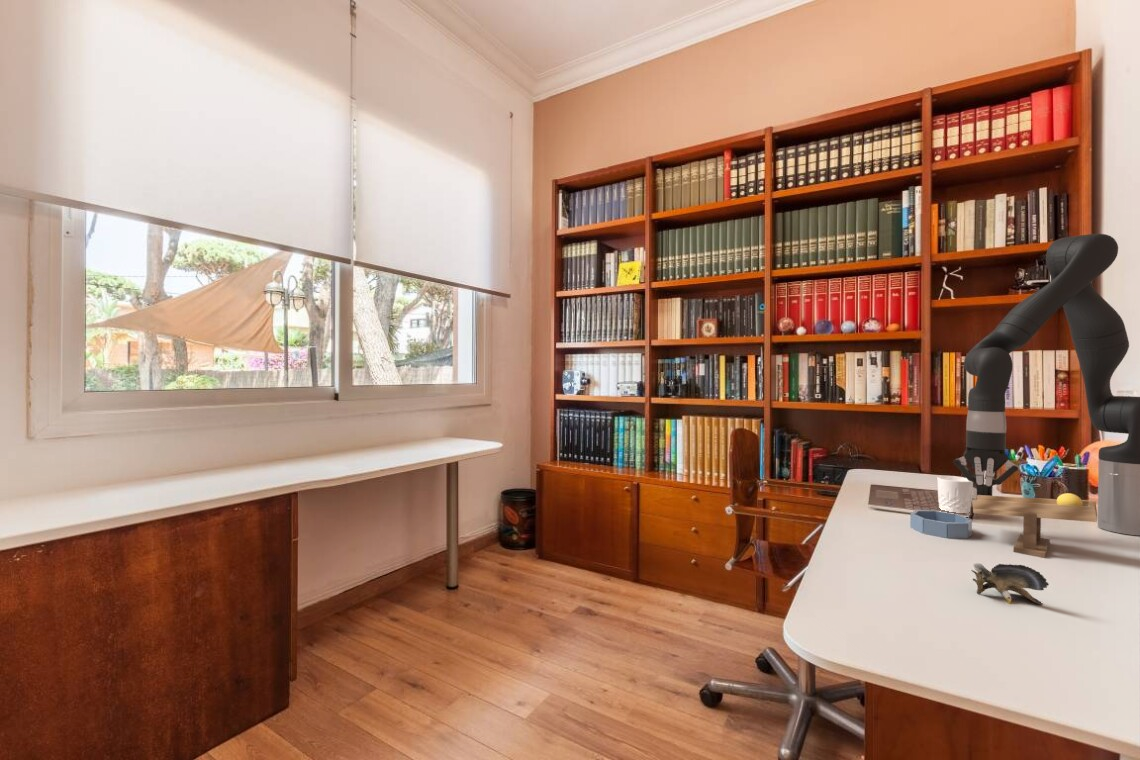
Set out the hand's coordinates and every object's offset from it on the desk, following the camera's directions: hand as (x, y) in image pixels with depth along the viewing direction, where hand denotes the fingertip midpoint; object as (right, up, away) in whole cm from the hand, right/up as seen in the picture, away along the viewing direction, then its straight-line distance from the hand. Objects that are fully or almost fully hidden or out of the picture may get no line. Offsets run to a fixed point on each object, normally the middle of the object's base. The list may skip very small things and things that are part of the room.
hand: (984, 500), depth 124 cm
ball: (+6, +3, -15) cm, 17 cm away
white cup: (+5, -8, +16) cm, 18 cm away
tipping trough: (+4, -1, -9) cm, 10 cm away
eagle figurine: (-26, -9, -37) cm, 46 cm away
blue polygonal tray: (-10, -8, +1) cm, 13 cm away
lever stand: (+2, -8, -11) cm, 14 cm away
